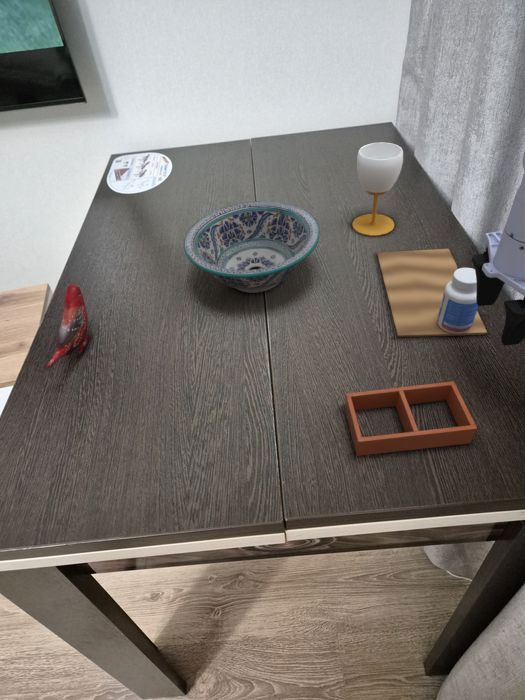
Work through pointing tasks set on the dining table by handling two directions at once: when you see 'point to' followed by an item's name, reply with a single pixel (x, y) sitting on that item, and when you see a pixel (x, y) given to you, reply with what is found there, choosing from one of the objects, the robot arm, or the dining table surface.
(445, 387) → the holder
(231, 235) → the bowl
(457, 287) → the pill bottle
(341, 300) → the dining table surface
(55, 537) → the dining table surface
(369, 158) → the cup
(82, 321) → the decorative bird figurine
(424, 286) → the mat
